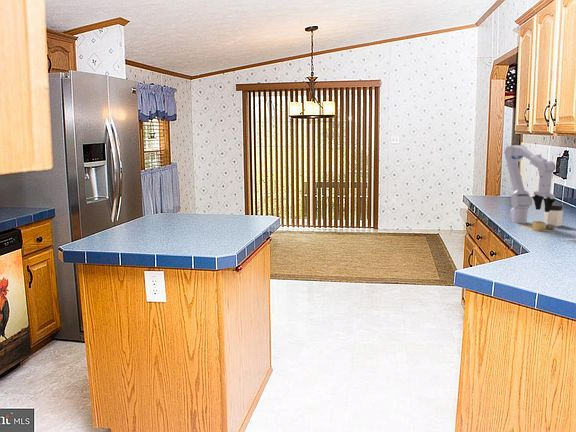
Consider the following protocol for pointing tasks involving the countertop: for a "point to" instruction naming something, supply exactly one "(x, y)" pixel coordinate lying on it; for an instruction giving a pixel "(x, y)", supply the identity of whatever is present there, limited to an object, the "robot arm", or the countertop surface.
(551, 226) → the gear
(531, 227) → the gear board
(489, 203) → the countertop surface
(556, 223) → the jar
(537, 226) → the brass gear
